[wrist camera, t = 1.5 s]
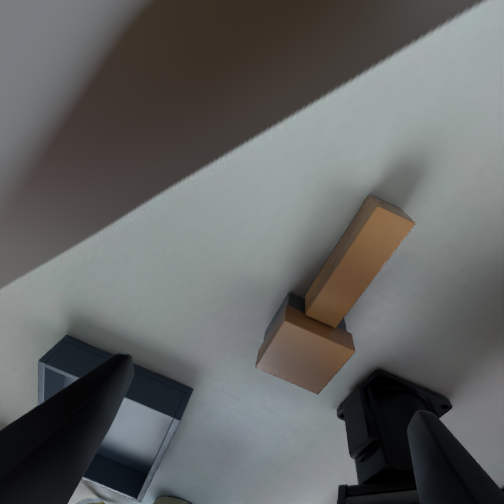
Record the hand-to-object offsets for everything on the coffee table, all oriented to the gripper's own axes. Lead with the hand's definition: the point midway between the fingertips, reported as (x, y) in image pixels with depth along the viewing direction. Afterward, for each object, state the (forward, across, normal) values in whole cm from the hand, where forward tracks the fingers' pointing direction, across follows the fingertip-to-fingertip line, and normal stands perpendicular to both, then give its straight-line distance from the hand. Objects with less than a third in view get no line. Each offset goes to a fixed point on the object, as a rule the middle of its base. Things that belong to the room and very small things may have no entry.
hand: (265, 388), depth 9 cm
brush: (+11, -4, +3) cm, 12 cm away
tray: (+11, +16, +24) cm, 31 cm away
